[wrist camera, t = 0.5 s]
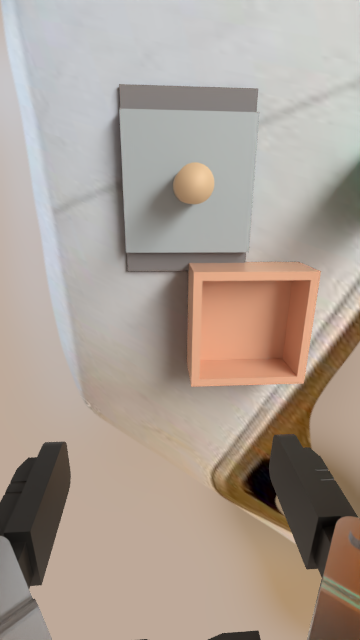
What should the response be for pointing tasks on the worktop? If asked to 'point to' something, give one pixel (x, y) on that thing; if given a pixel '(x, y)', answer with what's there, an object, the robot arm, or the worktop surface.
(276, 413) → the worktop surface
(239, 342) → the dish
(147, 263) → the mat
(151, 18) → the worktop surface
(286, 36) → the worktop surface
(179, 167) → the lid
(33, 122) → the worktop surface
